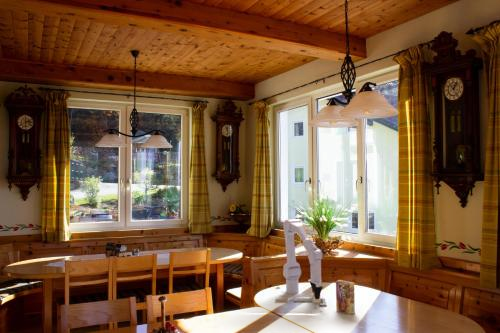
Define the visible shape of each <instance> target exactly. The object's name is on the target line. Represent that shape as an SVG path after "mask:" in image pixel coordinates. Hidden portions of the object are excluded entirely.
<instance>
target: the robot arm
mask: <svg viewBox="0 0 500 333" xmlns="http://www.w3.org/2000/svg"><path fill="white" fill-rule="evenodd" d="M282 224H283V226H282V227H283V234H284V240H285V242H284V243H285V252H286V253H285V254H286V263H284V264H283V270H282V275H283V277H284V278H285V287H286V288H285V292H286V293H287V294H292V295H294V294H299V292H300V290H299V280H300V277H301V275H302V269H301V266H300V263H299V262H297V257H296V246H295V234H297V235H298V236H299V238H300V240H301V241H302V246H303V247H304V249H305V251H306V252H307V258H308V261H309V265H310V266H309V268H310V270H309V272H310V279H308V282H309V283H310V284H309V285H310V286H311V292H314V295H315V299H319V298H320V297H321V292H322V290H323V286H321V283H322V259H323V258H324V253H323V251H322V249H320V248H318V247H317V246H316V244H315V243H314V241H313V239H311V238H309V236H308V235H307V233H306V231H305V228H304V223H303V222H302V219H301V218H296V219H285V220H284V222H283V223H282Z"/></svg>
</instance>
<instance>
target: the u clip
mask: <svg viewBox="0 0 500 333" xmlns="http://www.w3.org/2000/svg"><path fill="white" fill-rule="evenodd" d="M310 294H311V297H313V302H312V303H313V304H316V303H317V304H319V303H320V298H319V299H315V295H314V292H312V291H311V293H310Z"/></svg>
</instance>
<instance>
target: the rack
mask: <svg viewBox="0 0 500 333" xmlns="http://www.w3.org/2000/svg"><path fill="white" fill-rule="evenodd" d="M294 300H295V303H297V302H298V303H299V302H300V303H302V302H303V303H304V302H307V303H313V297H312V296H311V297H309V296H308V297H307V296H303V297H302V296H295V297H294ZM318 307H324V308H325V307H327V302H326V298H323V297H321V296H320V303H318Z"/></svg>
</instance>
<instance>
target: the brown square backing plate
mask: <svg viewBox="0 0 500 333" xmlns="http://www.w3.org/2000/svg"><path fill="white" fill-rule="evenodd" d="M274 303H275V304H289V298H275V299H274Z"/></svg>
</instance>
